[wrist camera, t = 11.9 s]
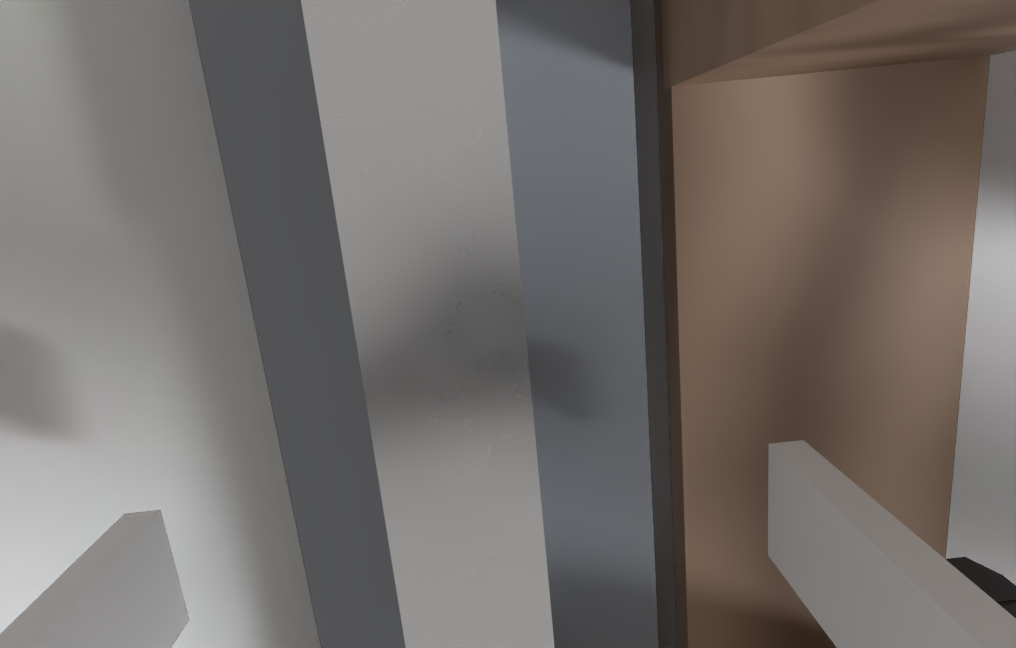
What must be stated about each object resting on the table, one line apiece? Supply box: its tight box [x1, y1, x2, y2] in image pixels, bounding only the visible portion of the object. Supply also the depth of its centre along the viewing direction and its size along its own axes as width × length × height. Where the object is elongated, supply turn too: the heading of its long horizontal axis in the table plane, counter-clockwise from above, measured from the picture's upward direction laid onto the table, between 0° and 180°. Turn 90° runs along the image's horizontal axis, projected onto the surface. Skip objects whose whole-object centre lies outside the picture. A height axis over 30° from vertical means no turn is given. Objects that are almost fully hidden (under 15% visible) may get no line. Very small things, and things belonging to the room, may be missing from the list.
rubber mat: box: [189, 0, 659, 648], centre depth 18 cm, size 10×30×2 cm, turn 6°
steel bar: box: [301, 0, 555, 648], centre depth 15 cm, size 3×28×5 cm, turn 5°
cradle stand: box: [654, 0, 1016, 648], centre depth 12 cm, size 8×26×14 cm, turn 6°
